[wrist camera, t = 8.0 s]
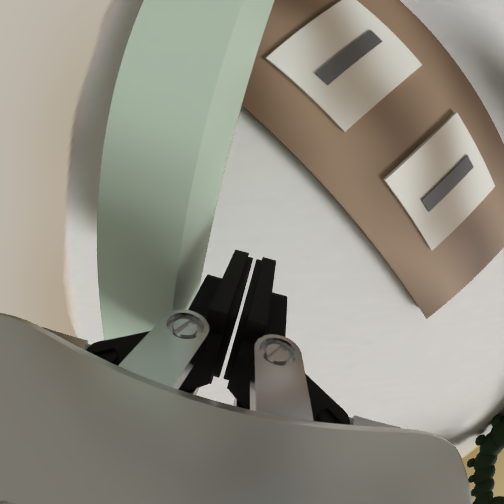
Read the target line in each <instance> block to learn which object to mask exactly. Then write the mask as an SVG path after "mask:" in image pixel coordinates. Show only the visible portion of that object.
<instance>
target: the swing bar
mask: <svg viewBox="0 0 504 504" xmlns="http://www.w3.org/2000/svg"><path fill="white" fill-rule="evenodd" d="M273 3H274V0H144V1H143V3H142V5H141V8H140V10H139V13H138V15H137V18H136V20H135V23H134V25H133V28H132V31H131V34H130V37H129V39H128V42H127V45H126V49H125V52H124V55H123V58H122V62H121V65H120V69H119V72H118V76H117V80H116V84H115V88H114V92H113V97H112V101H111V106H110V111H109V116H108V121H107V127H106V133H105V139H104V146H103V153H102V161H101V170H100V181H99V194H98V213H97V265H98V284H99V297H100V308H101V317H102V326H103V333H104V340H109V339H114V338H119V337H124V336H129V335H133V334H138V333H143V332H147V331H151V330H152V329H153V328H154V327H155V325H156V324H157V323H158V322H159V321H160V320H161V319H162V318H163V317H164V316H165V315H166V314H168V313H169V312H171V311H174V310H181V309H183V310H188V309H189V307H190V305H191V303H192V301H193V300H194V298H195V296H196V294H197V292H198V291H199V287H200V282H201V277H202V272H203V266H204V261H205V256H206V252H207V247H208V242H209V237H210V232H211V228H212V223H213V219H214V214H215V210H216V205H217V201H218V196H219V192H220V188H221V183H222V179H223V175H224V171H225V167H226V163H227V159H228V155H229V151H230V147H231V143H232V139H233V135H234V131H235V128H236V124H237V120H238V117H239V113H240V109H241V106H242V102H243V99H244V95H245V91H246V88H247V85H248V81H249V78H250V74H251V71H252V68H253V64H254V61H255V58H256V55H257V51H258V48H259V45H260V42H261V39H262V36H263V33H264V30H265V27H266V24H267V21H268V18H269V15H270V12H271V9H272V6H273Z"/></svg>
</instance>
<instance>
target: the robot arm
mask: <svg viewBox="0 0 504 504" xmlns="http://www.w3.org/2000/svg"><path fill="white" fill-rule="evenodd" d="M248 255H249V253H246V252H242V251H239V250H235V252H234V254H233V256H232V259H231V261H230V263H229V265H228V267H227V269H226V272H225V274H224V276H223V278H218V277H215V276H211V275H207V276H206V278H205V280H204V282H203V283H202V285H201V287H200V289H199V291H198V292H197V294H196V296H195V298H194V300H193V301H192V303H191V305H190V307H189V309H188V310H183V309H181V310H174V311H171V312H169V313H168V314H166V315H165V316H164V317H163V318H162V319H161V320H160V321H159V322H158V323H157V324H156V325H155V327H154V328H153V329H152V330H151V331H147V332H143V333H138V334H133V335H129V336H124V337H119V338H114V339H109V340H104V341H99V342H96V343H93V344H92V345H90V344H88V341H87V340H84V339H80V338H76V337H73V336H69V335H66V334H63V333H59V332H56V331H52V330H50V329H47V328H43V327H40V326H38V325H36V324H34V323H31V322H29V321H27V320H24V319H21V318H18V317H16V316H12V315H7V314H3V313H0V504H473V503H472V497H471V491H470V486H469V481H468V477H467V473H466V470H465V467H464V464H463V461H462V458H461V456H460V454H459V452H458V450H457V448H456V447H455V446H454V445H453V444H452V443H451V442H449V441H448V440H446V439H444V438H442V437H440V436H437V435H434V434H431V433H428V432H423V431H419V430H412V429H404V428H400V427H397V426H392V425H388V424H384V423H380V422H376V421H372V420H369V419H365V418H362V417H358V416H354V417H353V418H350V417H348V415H347V413H346V412H345V411H344V410H343V409H342V408H341V407H340V406H339V405H338V404H337V403H336V402H335V401H334V400H332V399H331V398H330V397H329V396H328V395H327V394H326V393H325V392H324V391H323V390H322V389H321V388H320V387H319V386H318V385H317V384H316V383H315V382H313V381H312V380H311V379H310V378H309V377H308V376H307V375H306V374H305V371H304V365H303V360H302V355H301V352H300V349H299V348H298V346H297V345H296V344H295V343H294V342H293V341H291V340H290V339H288V338H286V337H285V332H286V314H287V296H284V295H280V294H276V293H272V288H273V280H274V273H275V265H276V261H275V260H272V259H268V258H264V257H263V258H262V260H258V259H257V260H256V264H255V267H254V271H253V275H252V278H251V282H250V285H249V289H248V293H247V296H246V300H245V303H244V307H243V311H242V314H241V318H240V321H239V325H238V329H237V332H236V336H235V339H234V343H233V346H232V350H231V354H230V357H229V361H228V364H227V368H226V371H225V375H224V379H226V380H229V383H228V387H227V389H229V390H230V392H231V393H232V394H233V395H234V397H235V400H234V406H232V405H228V404H224V403H221V402H217V401H213V400H210V399H207V398H203V397H200V396H197V395H196V394H197V392H198V389H199V387H201V386H204V385H207V384H211V382H212V379H213V376H215V377H219V376H220V373H221V370H222V366H223V363H224V360H225V356H226V353H227V350H228V346H229V343H230V340H231V336H232V333H233V329H234V326H235V323H236V319H237V316H238V312H239V309H240V305H241V301H242V297H243V294H244V290H245V286H246V283H247V279H248V275H249V271H250V268H251V264H252V260H253V258H251V257H248Z"/></svg>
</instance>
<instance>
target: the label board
mask: <svg viewBox="0 0 504 504" xmlns="http://www.w3.org/2000/svg"><path fill="white" fill-rule="evenodd" d="M242 106H243V107H245V108H246V109H247V110H248V111H249V112H250V113H251V114H252V115H254V116H255V117H256V118H257V119H258V120H259V121H260V122H261V123H262V124H263V125H264V126H266V127H267V128H268V129H269V130H270V131H271V132H272V133H273V134H274V135H275V136H276V137H277V138H278V139H279V140H280V141H281V142H282V143H283V144H284V145H285V146H286V147H287V148H288V149H289V150H290V151H291V152H292V153H293V154H294V155H295V156H296V157H297V158H298V159H299V160H300V161H301V162H302V163H303V164H304V165H305V166H306V167H307V168H308V169H309V170H310V171H311V172H312V173H313V174H314V175H315V176H316V178H317V179H318V180H319V181H320V182H321V183H322V184H323V185H324V186H325V187H326V188H327V190H328V191H329V192H330V193H331V194H332V195H333V196H334V197H335V198H336V200H337V201H338V202H339V203H340V204H341V205H342V206H343V208H344V209H345V210H346V211H347V212H348V213H349V215H350V216H351V217H352V218H353V219H354V221H355V222H356V223H357V224H358V225H359V227H360V228H361V229H362V230H363V232H364V233H365V234H366V235H367V237H368V238H369V239H370V240H371V242H372V243H373V244H374V245H375V247H376V248H377V249H378V251H379V252H380V253H381V254H382V256H383V257H384V258H385V260H386V261H387V262H388V264H389V265H390V266H391V268H392V269H393V270H394V272H395V273H396V275H397V276H398V277H399V279H400V280H401V282H402V283H403V284H404V286H405V287H406V289H407V290H408V292H409V293H410V294H411V296H412V297H413V299H414V300H415V302H416V303H417V305H418V306H419V308H420V309H421V311H422V312H423V314H424V316H425V317H426V319H427V318H428V317H430V316H431V315H432V314H433V313H435V312H436V311H437V310H438V309H440V308H441V307H442V306H443V305H444V304H446V303H447V302H448V301H449V300H450V299H451V298H453V297H454V296H455V295H456V294H457V293H458V292H459V291H460V290H462V289H463V288H464V287H465V286H466V285H467V284H468V283H469V282H470V281H471V280H472V279H473V278H474V277H475V276H476V275H477V274H478V273H479V272H480V271H481V270H482V269H483V268H484V267H485V266H486V265H487V264H488V263H489V262H490V261H491V260H492V259H493V258H494V257H495V256H496V255H497V254H498V253H499V252H500V251H501V249H502V248H503V247H504V144H503V142H502V140H501V137H500V135H499V133H498V131H497V129H496V127H495V125H494V123H493V121H492V119H491V117H490V116H489V114H488V112H487V110H486V108H485V107H484V105H483V103H482V101H481V100H480V98H479V96H478V95H477V93H476V92H475V90H474V88H473V87H472V85H471V84H470V82H469V81H468V79H467V78H466V76H465V75H464V73H463V72H462V71H461V69H460V68H459V66H458V65H457V64H456V62H455V61H454V60H453V58H452V57H451V56H450V54H449V53H448V52H447V51H446V49H445V48H444V47H443V46H442V44H441V43H440V42H439V41H438V40H437V39H436V37H435V36H434V35H433V34H432V33H431V32H430V31H429V29H428V28H427V27H426V26H425V25H424V24H423V23H422V22H421V21H420V20H419V19H418V18H417V17H416V16H415V15H414V14H413V13H412V12H411V11H410V10H409V9H408V8H407V7H406V6H405V5H404V4H403V3H402V2H401V1H399V0H274V3H273V6H272V9H271V12H270V15H269V18H268V21H267V24H266V27H265V30H264V33H263V36H262V39H261V42H260V45H259V48H258V51H257V55H256V58H255V61H254V64H253V68H252V71H251V74H250V78H249V81H248V85H247V88H246V91H245V95H244V99H243V102H242Z"/></svg>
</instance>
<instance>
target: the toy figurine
mask: <svg viewBox="0 0 504 504" xmlns="http://www.w3.org/2000/svg"><path fill="white" fill-rule="evenodd" d="M492 426H493V427H492V430H491V432H490V433H489V434H487V435H486V436H485V435H479V436H478V437H477V438H476V442H475V443H476V445H480V452H479V454H478V455H477V457H476V458H475V459H474V458H472V459H470V460H469V461H468V462H467V466H468V467H473V466H474V469H475V470H476V471H475V473H474V475H472V476H470V477H469V479H468V481H469V482H470V483H471V482H473V481H474V483H475V484H476V485H475V487H474V489H473V490H472V491H471V496H475V497H476V499H475V501H474V502H473V504H504V497H502V496H498V497H494V498H493V492H492V489H493V487H494V480H493V476H494V474H495V466H494V464H495V462H496V460H497V455H498V454H499V453H500V452H501V450H502V449H503V448H504V416H502V417H501V416H498V415H497V416H496V417H494V418H493V420H492Z"/></svg>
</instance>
